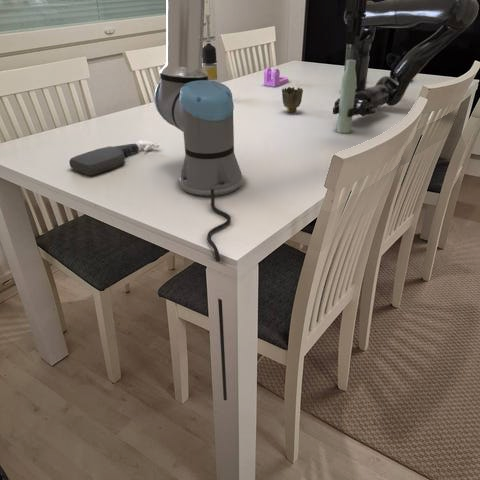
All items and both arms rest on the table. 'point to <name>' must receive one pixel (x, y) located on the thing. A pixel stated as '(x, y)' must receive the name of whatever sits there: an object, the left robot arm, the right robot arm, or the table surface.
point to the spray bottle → (106, 157)
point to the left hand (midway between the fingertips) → (352, 43)
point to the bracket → (273, 78)
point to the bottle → (347, 97)
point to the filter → (209, 56)
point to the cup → (292, 98)
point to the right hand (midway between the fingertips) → (341, 112)
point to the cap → (357, 39)
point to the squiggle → (394, 65)
